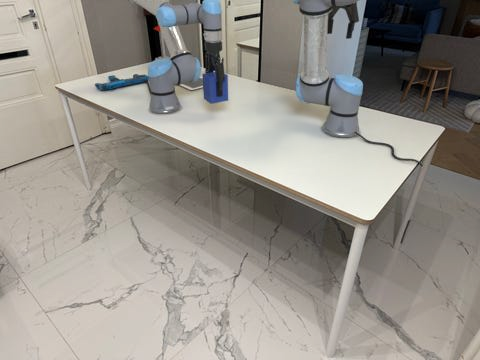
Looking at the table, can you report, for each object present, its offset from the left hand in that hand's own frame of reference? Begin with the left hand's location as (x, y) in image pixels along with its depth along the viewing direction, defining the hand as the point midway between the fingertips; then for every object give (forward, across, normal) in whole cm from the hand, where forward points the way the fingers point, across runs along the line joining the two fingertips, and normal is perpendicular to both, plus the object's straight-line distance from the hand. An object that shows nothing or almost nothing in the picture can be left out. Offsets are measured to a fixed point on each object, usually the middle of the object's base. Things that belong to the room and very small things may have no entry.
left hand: (215, 93), depth 156 cm
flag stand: (+12, -101, +10) cm, 102 cm away
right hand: (-21, +11, +61) cm, 66 cm away
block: (+3, 0, 0) cm, 3 cm away
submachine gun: (+12, -78, -25) cm, 82 cm away
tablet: (+12, -60, +12) cm, 62 cm away
